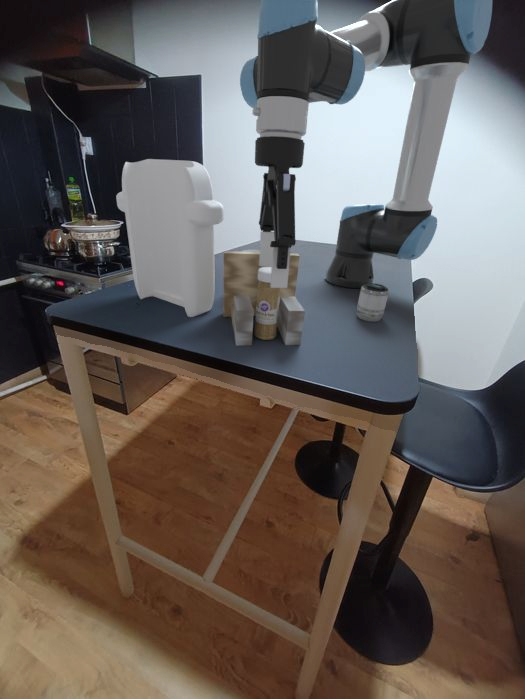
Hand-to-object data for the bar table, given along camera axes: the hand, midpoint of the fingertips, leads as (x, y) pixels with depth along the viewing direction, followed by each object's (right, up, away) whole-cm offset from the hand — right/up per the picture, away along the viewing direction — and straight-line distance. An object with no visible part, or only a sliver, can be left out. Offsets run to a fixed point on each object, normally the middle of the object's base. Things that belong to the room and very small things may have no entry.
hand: (271, 275), depth 58 cm
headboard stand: (-2, -9, +9) cm, 13 cm away
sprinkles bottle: (-1, -11, +6) cm, 13 cm away
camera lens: (+24, -6, +19) cm, 31 cm away
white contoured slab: (-22, -2, +19) cm, 29 cm away
